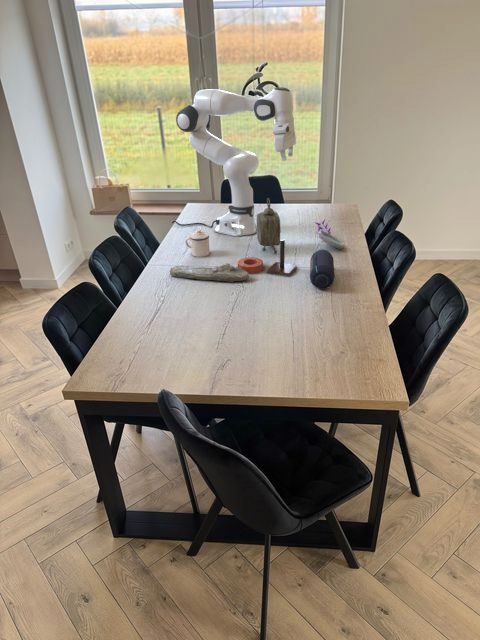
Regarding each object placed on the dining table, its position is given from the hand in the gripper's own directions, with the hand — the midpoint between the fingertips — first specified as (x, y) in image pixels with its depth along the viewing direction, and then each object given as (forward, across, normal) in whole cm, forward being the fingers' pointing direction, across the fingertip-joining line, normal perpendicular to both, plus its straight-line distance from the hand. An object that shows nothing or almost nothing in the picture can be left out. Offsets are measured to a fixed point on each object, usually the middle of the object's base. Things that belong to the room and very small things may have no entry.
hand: (287, 158), depth 232 cm
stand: (+39, +43, +8) cm, 59 cm away
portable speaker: (+41, +46, +27) cm, 68 cm away
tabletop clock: (+38, +22, -6) cm, 44 cm away
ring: (+38, +46, -6) cm, 59 cm away
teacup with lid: (+35, +37, -37) cm, 62 cm away
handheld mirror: (+41, 0, +18) cm, 45 cm away
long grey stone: (+36, +60, -19) cm, 73 cm away
